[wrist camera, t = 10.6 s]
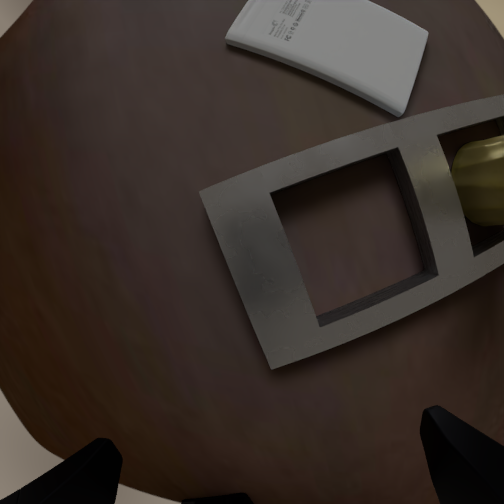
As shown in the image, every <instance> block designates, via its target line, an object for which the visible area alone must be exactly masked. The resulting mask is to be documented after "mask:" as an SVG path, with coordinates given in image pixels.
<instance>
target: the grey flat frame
mask: <svg viewBox="0 0 504 504" xmlns="http://www.w3.org/2000/svg"><path fill="white" fill-rule="evenodd" d="M492 120H496V122H497V124H498V127H499V130H500V132H501V135H502V136H503V135H504V95H499V96H494V97H489V98H484V99H480V100H475V101H471V102H466V103H462V104H458V105H454V106H450V107H446V108H442V109H438V110H434V111H430V112H426V113H422V114H419V115H415V116H411V117H408V118H404V119H401V120H397V121H394V122H390V123H387V124H384V125H380V126H377V127H374V128H370V129H367V130H364V131H361V132H358V133H354V134H351V135H348V136H345V137H342V138H339V139H336V140H333V141H330V142H327V143H324V144H321V145H318V146H315V147H312V148H310V149H307V150H304V151H301V152H298V153H296V154H293V155H290V156H287V157H285V158H282V159H279V160H276V161H274V162H271V163H268V164H266V165H263V166H261V167H258V168H255V169H253V170H250V171H248V172H245V173H243V174H240V175H238V176H235V177H233V178H230V179H228V180H225V181H223V182H220V183H218V184H216V185H213V186H211V187H208V188H206V189H204V190H201V191H199V193H200V196H201V199H202V201H203V204H204V206H205V209H206V211H207V214H208V217H209V219H210V222H211V224H212V227H213V229H214V232H215V234H216V237H217V239H218V242H219V245H220V247H221V250H222V252H223V255H224V257H225V260H226V262H227V265H228V267H229V269H230V272H231V274H232V277H233V279H234V282H235V284H236V287H237V289H238V292H239V294H240V297H241V299H242V301H243V304H244V306H245V309H246V311H247V314H248V316H249V318H250V321H251V323H252V326H253V328H254V330H255V333H256V335H257V337H258V340H259V342H260V345H261V347H262V349H263V352H264V354H265V356H266V359H267V361H268V363H269V366H270V368H271V370H272V369H275V368H278V367H281V366H284V365H287V364H290V363H292V362H295V361H298V360H301V359H304V358H306V357H309V356H312V355H315V354H317V353H320V352H323V351H325V350H328V349H331V348H333V347H336V346H338V345H341V344H343V343H346V342H348V341H351V340H353V339H356V338H358V337H360V336H363V335H365V334H367V333H370V332H372V331H374V330H377V329H379V328H381V327H383V326H386V325H388V324H390V323H392V322H395V321H397V320H399V319H401V318H403V317H405V316H407V315H410V314H412V313H414V312H416V311H418V310H420V309H422V308H424V307H426V306H428V305H430V304H432V303H434V302H436V301H438V300H440V299H442V298H444V297H446V296H448V295H449V294H451V293H453V292H455V291H457V290H459V289H461V288H462V287H464V286H466V285H468V284H470V283H471V282H473V281H475V280H477V279H478V278H480V277H482V276H484V275H485V274H487V273H489V272H491V271H492V270H494V269H496V268H497V267H499V266H500V265H502V264H504V230H502V231H500V232H499V233H497V234H495V235H493V236H491V237H489V238H488V239H486V240H484V241H482V242H480V243H478V244H476V245H474V246H471V242H470V238H469V233H468V229H467V225H466V222H465V218H464V214H463V210H462V207H461V203H460V200H459V197H458V193H457V190H456V187H455V184H454V181H453V178H452V175H451V172H450V169H449V166H448V163H447V161H446V158H445V155H444V153H443V150H442V147H441V145H440V142H439V140H438V136H441V135H445V134H448V133H451V132H454V131H458V130H461V129H464V128H468V127H471V126H475V125H478V124H482V123H485V122H489V121H492ZM385 153H387V156H388V158H389V161H390V163H391V166H392V168H393V171H394V174H395V176H396V179H397V182H398V185H399V187H400V190H401V193H402V196H403V199H404V202H405V205H406V208H407V211H408V214H409V217H410V220H411V223H412V226H413V230H414V233H415V236H416V240H417V243H418V247H419V250H420V254H421V258H422V262H423V265H424V269H425V270H424V271H422V272H420V273H418V274H416V275H413V276H411V277H409V278H407V279H405V280H403V281H400V282H398V283H396V284H394V285H391V286H389V287H387V288H385V289H382V290H380V291H378V292H375V293H373V294H371V295H368V296H366V297H364V298H361V299H359V300H356V301H354V302H352V303H349V304H347V305H344V306H342V307H339V308H337V309H334V310H332V311H329V312H327V313H324V314H322V315H319V316H316V315H315V313H314V310H313V307H312V304H311V302H310V299H309V296H308V293H307V291H306V288H305V285H304V282H303V280H302V277H301V274H300V271H299V269H298V266H297V263H296V261H295V258H294V255H293V253H292V250H291V247H290V245H289V242H288V240H287V237H286V234H285V232H284V229H283V227H282V224H281V221H280V219H279V216H278V214H277V211H276V209H275V206H274V204H273V201H272V198H271V196H270V195H272V194H274V193H277V192H279V191H282V190H285V189H287V188H290V187H293V186H295V185H298V184H301V183H303V182H306V181H309V180H311V179H314V178H317V177H320V176H322V175H325V174H328V173H331V172H333V171H336V170H339V169H342V168H345V167H348V166H350V165H353V164H356V163H359V162H362V161H365V160H368V159H371V158H373V157H376V156H379V155H382V154H385Z"/></svg>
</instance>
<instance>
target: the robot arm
mask: <svg viewBox="0 0 504 504" xmlns="http://www.w3.org/2000/svg"><path fill="white" fill-rule="evenodd" d="M420 436H421V440H422V444H423V447H424V451H425V455H426V459H427V463H428V467H429V472H430V475H431V479H432V482H433V485H434V488H435V491H436V493H437V496H438V499H439V501H440V504H504V446H503V445H501V444H499V443H498V442H496V441H495V440H493V439H491V438H490V437H488V436H486V435H485V434H483V433H482V432H480V431H478V430H477V429H475V428H474V427H472V426H470V425H469V424H467V423H466V422H464V421H463V420H461V419H459V418H458V417H456V416H455V415H453V414H452V413H450V412H448V411H447V410H445V409H444V408H442V407H441V406H438V405H435V406H432V407H429V408H426V409H424V411H423V414H422V420H421V425H420ZM121 467H122V455H121V454H120V452H119V451H118V449H117V448H116V446H115V445H114V444H113V442H112V441H111V440H110V439H107V438H97V439H95V440H94V441H92V442H91V443H89V444H88V445H87V446H85V447H84V448H82V449H81V450H79V451H78V452H76V453H75V454H73V455H72V456H70V457H69V458H67V459H66V460H64V461H63V462H61V463H60V464H58V465H57V466H55V467H54V468H52V469H51V470H49V471H48V472H46V473H44V474H43V475H42V476H40V477H38V478H37V479H35V480H33V481H32V482H30V483H29V484H27V485H25V486H24V487H22V488H21V489H19V490H17V491H16V492H14V493H12V494H11V495H9V496H7V497H5V498H4V499H2V500H0V504H114V503H115V500H116V495H117V488H118V483H119V478H120V472H121ZM181 504H254V503H253V502H252V501H251V499H250V498H249V497H248V495H247V494H245V493H236V494H229V495H222V496H214V497H206V498H196V499H184V500H182V503H181Z"/></svg>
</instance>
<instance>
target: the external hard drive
mask: <svg viewBox="0 0 504 504" xmlns="http://www.w3.org/2000/svg"><path fill="white" fill-rule="evenodd" d="M427 38H428V32H427V31H426V30H424V29H422V28H421V27H419V26H417V25H415V24H414V23H412V22H410V21H408V20H406V19H405V18H403V17H401V16H399V15H397V14H395V13H393V12H391V11H389V10H387V9H385V8H383V7H381V6H379V5H377V4H375V3H372V2H370V1H368V0H248V2H247V3H246V5H245V6H244V8H243V9H242V11H241V12H240V14H239V15H238V17H237V18H236V20H235V21H234V23H233V24H232V26H231V28H230V29H229V31H228V33H227V35H226V37H225V40H226V44H229V45H232V46H235V47H239V48H242V49H245V50H248V51H251V52H254V53H257V54H260V55H263V56H266V57H268V58H271V59H274V60H277V61H279V62H282V63H285V64H287V65H290V66H292V67H295V68H297V69H300V70H302V71H305V72H307V73H310V74H312V75H314V76H317V77H319V78H321V79H324V80H326V81H328V82H330V83H332V84H335V85H337V86H339V87H341V88H343V89H345V90H347V91H349V92H351V93H353V94H355V95H357V96H359V97H361V98H363V99H365V100H367V101H369V102H371V103H373V104H375V105H377V106H378V107H380V108H382V109H384V110H386V111H388V112H389V113H391V114H393V115H395V116H396V117H400V116H401V115H403V113H404V111H405V109H406V106H407V103H408V100H409V97H410V94H411V91H412V88H413V85H414V82H415V79H416V75H417V72H418V69H419V66H420V62H421V59H422V56H423V52H424V49H425V45H426V42H427Z"/></svg>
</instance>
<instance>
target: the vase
mask: <svg viewBox="0 0 504 504" xmlns="http://www.w3.org/2000/svg"><path fill="white" fill-rule="evenodd" d="M451 175H452V178H453V181H454V184H455V187H456V190H457V193H458V197H459V200H460V203H461V207H462V210H463V214H464V215H465V216H466V217H467V218H468V219H469V220H470V221H471V222H473V223H475V224H477V225H481V226H492V225H504V135H503V136H497V137H493V138H489V139H486V140H481V141H472V142H469V143H466V144H465V145H463V146H462V147H461V148H460V149H459V150H458V152H457V154H456V156H455V158H454V161H453V164H452V169H451Z"/></svg>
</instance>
